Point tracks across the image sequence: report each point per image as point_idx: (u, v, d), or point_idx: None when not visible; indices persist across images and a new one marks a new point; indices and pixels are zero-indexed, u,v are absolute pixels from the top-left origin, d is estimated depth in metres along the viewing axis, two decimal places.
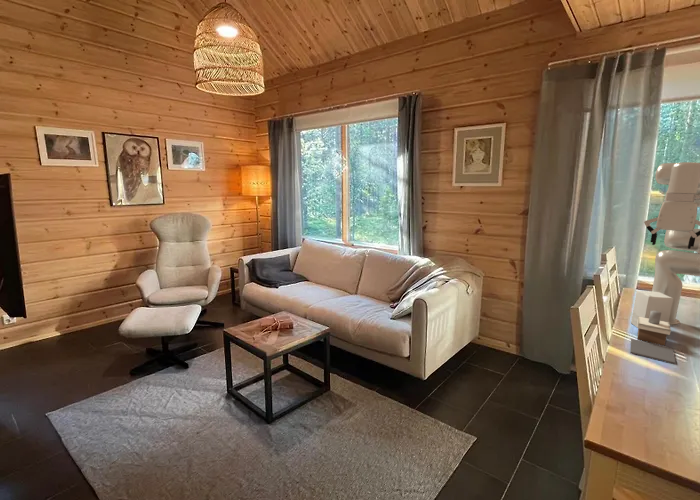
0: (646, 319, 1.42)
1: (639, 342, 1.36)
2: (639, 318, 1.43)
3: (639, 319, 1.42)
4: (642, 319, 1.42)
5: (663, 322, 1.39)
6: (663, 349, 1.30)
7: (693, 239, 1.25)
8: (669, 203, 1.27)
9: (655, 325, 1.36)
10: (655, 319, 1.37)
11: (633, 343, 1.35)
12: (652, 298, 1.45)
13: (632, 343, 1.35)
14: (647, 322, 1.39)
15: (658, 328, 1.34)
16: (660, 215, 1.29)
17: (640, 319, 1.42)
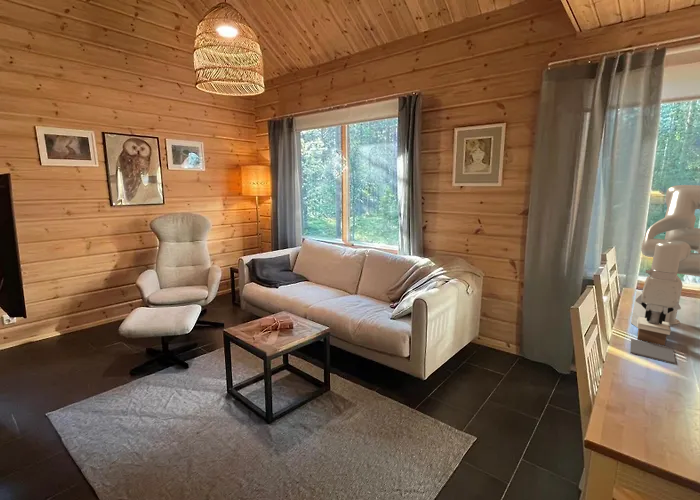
0: (646, 319, 1.42)
1: (639, 342, 1.36)
2: (639, 318, 1.43)
3: (639, 319, 1.42)
4: (642, 319, 1.42)
5: (663, 322, 1.39)
6: (663, 349, 1.30)
7: None
8: None
9: (655, 325, 1.36)
10: (655, 319, 1.37)
11: (633, 343, 1.35)
12: None
13: (632, 343, 1.35)
14: (647, 322, 1.39)
15: (658, 328, 1.34)
16: None
17: (640, 319, 1.42)
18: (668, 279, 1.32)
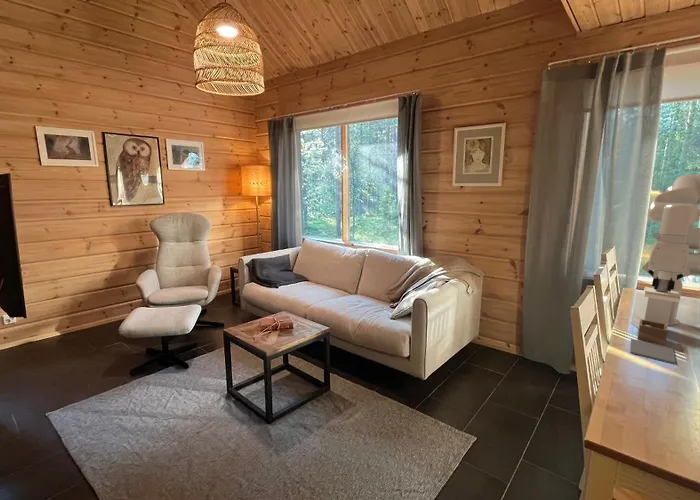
0: (653, 288, 1.33)
1: (639, 342, 1.36)
2: (646, 288, 1.34)
3: (646, 288, 1.33)
4: (649, 288, 1.33)
5: (671, 291, 1.30)
6: (663, 349, 1.30)
7: None
8: None
9: (663, 293, 1.27)
10: (663, 287, 1.28)
11: (633, 343, 1.35)
12: (652, 298, 1.45)
13: (632, 343, 1.35)
14: (654, 291, 1.30)
15: (666, 296, 1.25)
16: None
17: (647, 288, 1.33)
18: (677, 242, 1.23)
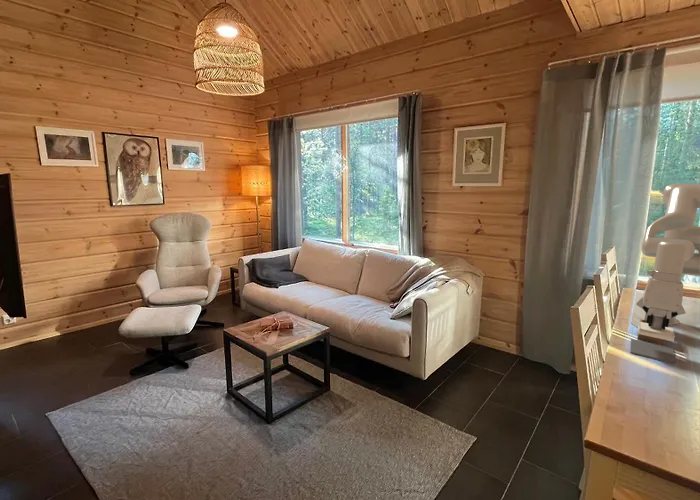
0: None
1: (639, 342, 1.36)
2: (640, 323, 1.32)
3: (640, 324, 1.31)
4: (643, 324, 1.31)
5: (666, 328, 1.28)
6: (663, 349, 1.30)
7: None
8: None
9: (658, 331, 1.25)
10: (657, 324, 1.26)
11: (633, 343, 1.35)
12: None
13: (632, 343, 1.35)
14: (649, 327, 1.28)
15: (661, 334, 1.24)
16: None
17: (641, 324, 1.31)
18: (672, 281, 1.21)
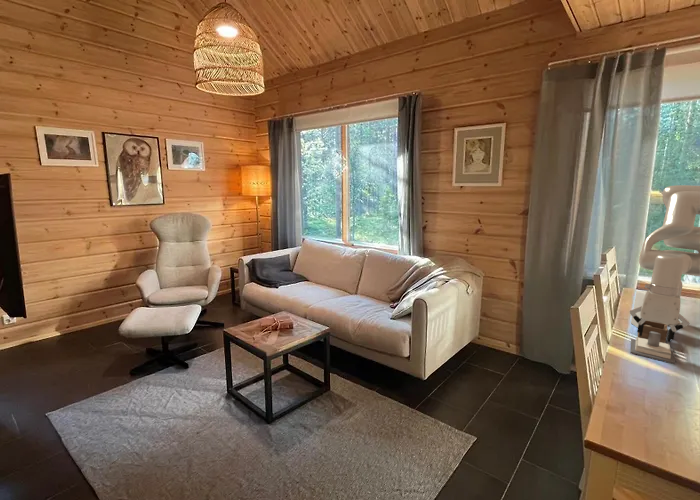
0: (645, 340, 1.32)
1: None
2: (637, 339, 1.33)
3: (637, 340, 1.32)
4: (640, 340, 1.32)
5: (663, 344, 1.30)
6: None
7: None
8: None
9: (654, 348, 1.27)
10: (654, 341, 1.27)
11: (633, 343, 1.35)
12: None
13: (632, 343, 1.35)
14: (646, 344, 1.29)
15: (657, 351, 1.25)
16: None
17: (638, 340, 1.32)
18: (669, 295, 1.22)
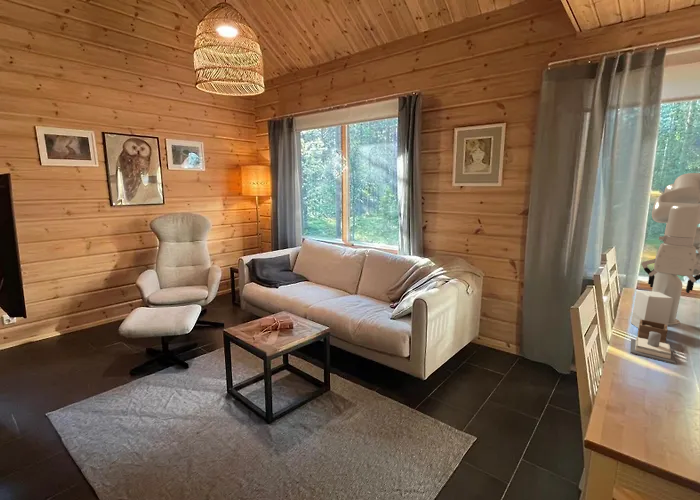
0: (645, 340, 1.32)
1: None
2: (637, 339, 1.33)
3: (637, 340, 1.32)
4: (640, 340, 1.32)
5: (663, 344, 1.30)
6: None
7: None
8: None
9: (654, 348, 1.27)
10: (654, 341, 1.27)
11: (633, 343, 1.35)
12: (652, 298, 1.45)
13: (632, 343, 1.35)
14: (646, 344, 1.29)
15: (657, 351, 1.25)
16: None
17: (638, 340, 1.32)
18: (684, 245, 1.20)
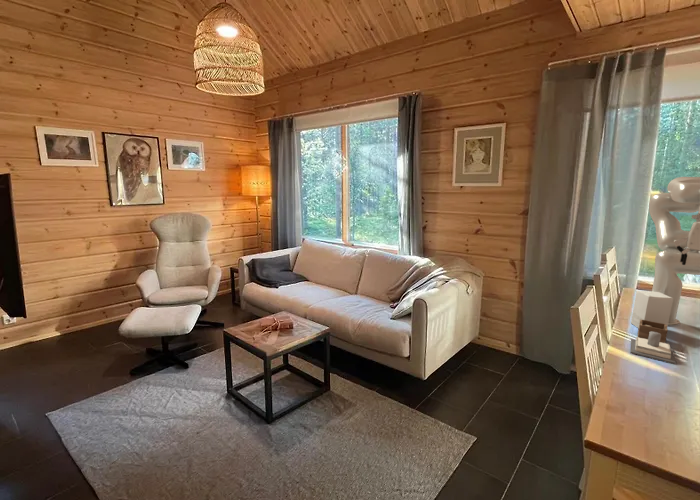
0: (645, 340, 1.32)
1: None
2: (637, 339, 1.33)
3: (637, 340, 1.32)
4: (640, 340, 1.32)
5: (663, 344, 1.30)
6: None
7: None
8: None
9: (654, 348, 1.27)
10: (654, 341, 1.27)
11: (633, 343, 1.35)
12: (652, 298, 1.45)
13: (632, 343, 1.35)
14: (646, 344, 1.29)
15: (657, 351, 1.25)
16: None
17: (638, 340, 1.32)
18: None
